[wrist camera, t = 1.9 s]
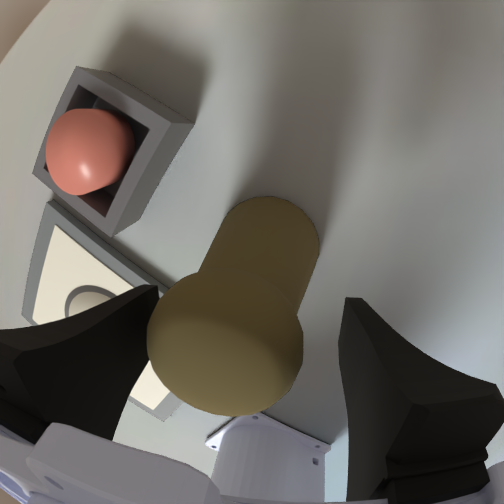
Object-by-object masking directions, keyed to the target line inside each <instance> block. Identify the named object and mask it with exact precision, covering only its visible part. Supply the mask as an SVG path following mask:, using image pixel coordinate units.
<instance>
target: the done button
mask: <svg viewBox="0 0 504 504" xmlns="http://www.w3.org/2000/svg"><path fill="white" fill-rule="evenodd" d="M134 152H135V140H134V135H133V131H132V129H131V126H130V125H129V123H128V121H127V120H126V119H125V118H124V117H123V116H122V115H121V114H120V113H118V112H116V111H113V110H109V109H73V110H70V111H67V112H66V113H64V114H63V115H61V116H60V117H59V118H58V119H57V120H56V122H55V123H54V125H53V126H52V128H51V130H50V132H49V135H48V138H47V143H46V163H47V167H48V170H49V173H50V175H51V177H52V179H53V181H54V182H55V183H56V185H57V186H58V187H59V188H60V189H62V190H63V191H64V192H66V193H68V194H72V195H83V194H86V193H89V192H92V191H94V190H97V189H100V188H102V187H105V186H108V185H111V184H113V183H115V182H117V181H119V180H120V179H121V178H122V177H123V176H124V175H125V174H126V173H127V171H128V169H129V167H130V165H131V164H132V161H133V158H134Z"/></svg>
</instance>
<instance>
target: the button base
mask: <svg viewBox="0 0 504 504" xmlns="http://www.w3.org/2000/svg"><path fill="white" fill-rule="evenodd" d="M73 109H109V110H113V111H116V112H118V113H120V114H121V115H122V116H123V117H124V118H125V119H126V120H127V121H128V123H129V125H130V126H131V129H132V131H133V135H134V140H135V152H134V158H133V161H132V164H131V165H130V167H129V169H128V171H127V173H126V174H125V175H124V176H123V177H122V178H121V179H120V180H119V181H117V182H115V183H113V184H111V185H108V186H105V187H102V188H100V189H97V190H94V191H92V192H89V193H86V194H83V195H72V194H68V193H66V192H64V191H63V190H62V189H60V188H59V187H58V186H57V185H56V183H55V182H54V181H53V179H52V177H51V175H50V173H49V170H48V167H47V163H46V143H47V138H48V135H49V132H50V130H51V128H52V126H53V125H54V123H55V122H56V120H57V119H58V118H59V117H60V116H61V115H63V114H64V113H66V112H67V111H70V110H73ZM194 125H195V124H194V123H193V122H191V121H189V120H188V119H186V118H185V117H183V116H182V115H180V114H178V113H177V112H175V111H174V110H172V109H170V108H169V107H167V106H166V105H164V104H162V103H161V102H159V101H157V100H156V99H154V98H152V97H151V96H149V95H147V94H146V93H144V92H142V91H141V90H139V89H137V88H135V87H134V86H132V85H130V84H129V83H127V82H125V81H123V80H122V79H120V78H118V77H116V76H115V75H113V74H111V73H109V72H104V71H99V70H94V69H89V68H84V67H78V66H76V68H75V69H74V71H73V73H72V75H71V77H70V79H69V81H68V83H67V86H66V88H65V90H64V92H63V94H62V96H61V98H60V101H59V103H58V105H57V107H56V110H55V112H54V114H53V117H52V119H51V122H50V124H49V127H48V129H47V132H46V135H45V137H44V140H43V143H42V145H41V148H40V151H39V154H38V157H37V160H36V163H35V166H34V169H33V172H32V174H34V175H35V176H36V177H37V178H38V179H39V180H41V181H42V182H43V183H44V184H45V185H46V186H48V187H49V188H50V189H51V190H52V191H53V192H55V193H56V194H57V195H58V196H59V197H61V198H62V199H63V200H64V201H65V202H67V203H68V204H69V205H70V206H71V207H73V208H74V209H75V210H76V211H78V212H79V213H80V214H81V215H83V216H84V217H85V218H86V219H88V220H89V221H90V222H91V223H93V224H94V225H95V226H96V227H98V228H99V229H100V230H101V231H103V232H104V233H105V234H107V235H108V236H109V237H110V238H111V237H113V236H114V235H116V234H118V233H119V232H121V231H122V230H124V229H125V228H127V227H128V226H130V225H132V224H133V223H135V222H136V221H138V220H139V219H140V217H141V215H142V213H143V211H144V210H145V208H146V206H147V204H148V202H149V200H150V199H151V197H152V195H153V193H154V191H155V189H156V188H157V186H158V184H159V182H160V181H161V179H162V177H163V175H164V174H165V172H166V170H167V169H168V167H169V165H170V163H171V162H172V160H173V158H174V157H175V155H176V153H177V152H178V150H179V148H180V147H181V145H182V144H183V142H184V140H185V139H186V137H187V136H188V134H189V132H190V131H191V129H192V128H193V126H194Z"/></svg>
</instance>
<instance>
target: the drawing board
mask: <svg viewBox="0 0 504 504" xmlns="http://www.w3.org/2000/svg"><path fill="white" fill-rule="evenodd" d="M143 284H149V285H158V291H159V297H160V298H161V297H162V296H163V295H164V294H165V293H166V291H168V290H169V289H168V288H167V287H165V286H164V285H163V284H161V283H160V282H158V281H157V280H156V279H154V278H153V277H151V276H150V275H149V274H147V273H146V272H145V271H143V270H142V269H141V268H139V267H138V266H136V265H135V264H134V263H132V262H131V261H130V260H128V259H127V258H126V257H124V256H123V255H122V254H120V253H119V252H118V251H117V250H115V249H114V248H113V247H111V246H110V245H109V244H107V243H106V242H105V241H104V240H102V239H101V238H100V237H99V236H97V235H96V234H95V233H93V232H92V231H91V230H90V229H88V228H87V227H86V226H85V225H83V224H82V223H81V222H80V221H79V220H77V219H76V218H75V217H74V216H72V215H71V214H70V213H69V212H68V211H66V210H65V209H64V208H63V207H62V206H60V205H59V204H58V203H57V202H56V201H55V200H51V201H48V202H46V205H45V209H44V212H43V216H42V219H41V223H40V226H39V230H38V234H37V238H36V241H35V246H34V250H33V254H32V258H31V263H30V268H29V273H28V278H27V283H26V289H25V295H24V301H23V307H22V316H23V317H24V318H25V319H26V320H27V321H28V322H29V323H31V324H32V325H33V326H36V325H41V324H45V323H49V322H53V321H57V320H60V319H63V318H66V317H69V316H72V315H75V314H78V313H80V312H83V311H85V310H88V309H90V308H92V307H94V306H96V305H99V304H101V303H103V302H105V301H107V300H109V299H112V298H114V297H116V296H118V295H120V294H122V293H124V292H126V291H128V290H130V289H132V288H135V287H137V286H140V285H143ZM127 400H129V401H131V402H132V403H134V404H135V405H137V406H138V407H140V408H141V409H143V410H145V411H146V412H148V413H150V414H151V415H153V416H154V417H156V418H158V419H160V420H161V421H163V422H164V421H165V420H166V419H167V418H168V417H169V416H170V415H171V414H172V413H173V412H174V411H175V410H176V409H177V408H178V407H179V406H180V405H181V404H182V403H183V402H184V401H182V400H180V399H179V398H177V397H176V396H175V395H174V394H173V393H172V392H171V391H169V390H168V389H167V388H166V387H165V386H164V385H163V384H162V382H161V381H160V379H159V378H158V377H157V375H156V374H155V372H154V371H153V368H152V365H151V362H150V360H149V362H148V363H147V365H146V367H145V368H144V370H143V372H142V374H141V375H140V377H139V379H138V380H137V382H136V384H135V385H134V387H133V389H132V391H131V393H130V395H129V397H128V399H127Z"/></svg>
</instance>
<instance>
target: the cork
mask: <svg viewBox="0 0 504 504" xmlns="http://www.w3.org/2000/svg"><path fill="white" fill-rule="evenodd" d="M318 256H319V238H318V235H317V233H316V230H315V227H314V225H313V223H312V221H311V220H310V219H309V218H308V216H307V215H306V214H305V213H304V212H303V210H301V209H300V208H298V207H297V206H295V205H294V204H292V203H291V202H289V201H286V200H283V199H279V198H275V197H254V198H252V199H249V200H247V201H244V202H241V203H239V204H238V205H237V206H236V207H235V208H233V209H232V210H231V211H230V212H229V213H228V214H227V216H226V217H225V219H224V221H223V222H222V224H221V226H220V228H219V230H218V232H217V234H216V236H215V238H214V240H213V242H212V244H211V246H210V248H209V250H208V252H207V254H206V256H205V258H204V261H203V263H202V265H201V267H200V269H199V271H198V272H197V273H194V274H191V275H189V276H186V277H184V278H182V279H181V280H180V281H178V282H177V283H176V284H175V285H174V286H172V287H171V288H170V289H169V290H168V291H166V293H165V294H164V295H163V296H162V297H161V298H160V299H159V301H158V303H157V305H156V307H155V309H154V311H153V313H152V315H151V317H150V320H149V323H148V326H147V352H148V357H149V360H150V362H151V365H152V368H153V371H154V372H155V374H156V375H157V377H158V378H159V379H160V381H161V382H162V384H163V385H164V386H165V387H166V388H167V389H168V390H169V391H171V392H172V393H173V394H174V395H175V396H176V397H177V398H179V399H180V400H182V401H184V402H186V403H187V404H189V405H191V406H193V407H194V408H197V409H200V410H203V411H205V412H208V413H211V414H215V415H223V416H231V417H236V416H246V415H253V414H255V413H258V412H260V411H263V410H265V409H268V408H269V407H271V406H272V405H273V404H275V403H276V402H277V401H278V400H280V399H281V398H282V397H283V396H284V395H285V394H286V393H287V392H289V390H290V389H291V387H292V385H293V383H294V381H295V379H296V377H297V375H298V372H299V370H300V368H301V366H302V361H303V331H302V328H301V325H300V322H299V320H298V317H297V312H298V310H299V307H300V304H301V302H302V299H303V297H304V294H305V292H306V289H307V286H308V284H309V281H310V278H311V276H312V273H313V270H314V268H315V265H316V262H317V259H318Z"/></svg>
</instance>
